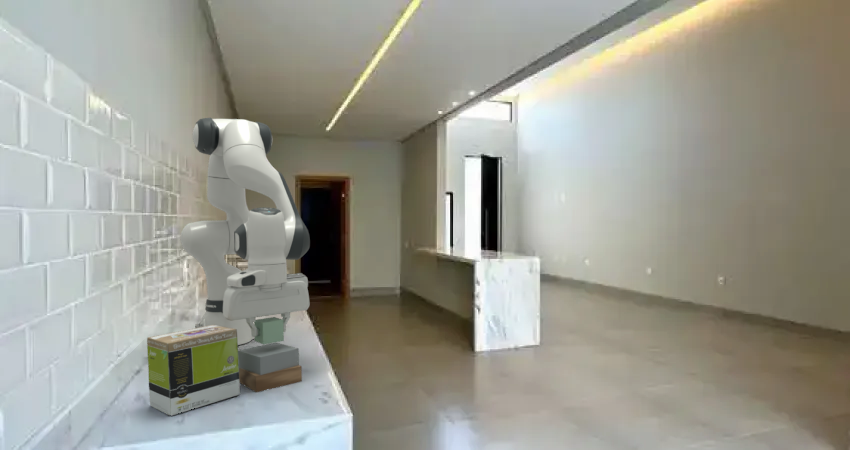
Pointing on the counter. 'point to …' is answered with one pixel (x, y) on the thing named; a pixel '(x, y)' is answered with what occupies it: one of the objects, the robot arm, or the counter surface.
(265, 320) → the sage cube
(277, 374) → the walnut slab
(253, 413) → the counter surface
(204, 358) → the tea box
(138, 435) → the counter surface
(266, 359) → the slate slab
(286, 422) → the counter surface
